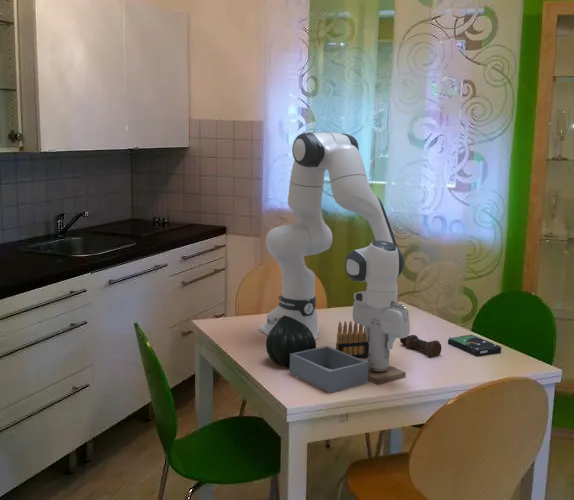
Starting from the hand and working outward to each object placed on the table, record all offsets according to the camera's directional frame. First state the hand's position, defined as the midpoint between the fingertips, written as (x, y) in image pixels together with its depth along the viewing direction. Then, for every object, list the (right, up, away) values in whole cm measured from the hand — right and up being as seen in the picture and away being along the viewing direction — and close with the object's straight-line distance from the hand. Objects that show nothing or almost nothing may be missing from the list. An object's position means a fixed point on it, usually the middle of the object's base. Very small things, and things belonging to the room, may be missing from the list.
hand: (379, 345), depth 195 cm
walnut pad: (0, -9, +1) cm, 9 cm away
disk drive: (+35, -6, +29) cm, 46 cm away
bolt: (+16, -6, +25) cm, 31 cm away
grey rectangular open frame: (-15, -9, -2) cm, 18 cm away
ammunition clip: (-6, -6, +16) cm, 19 cm away
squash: (-26, -7, +11) cm, 29 cm away
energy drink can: (0, -7, +1) cm, 7 cm away
